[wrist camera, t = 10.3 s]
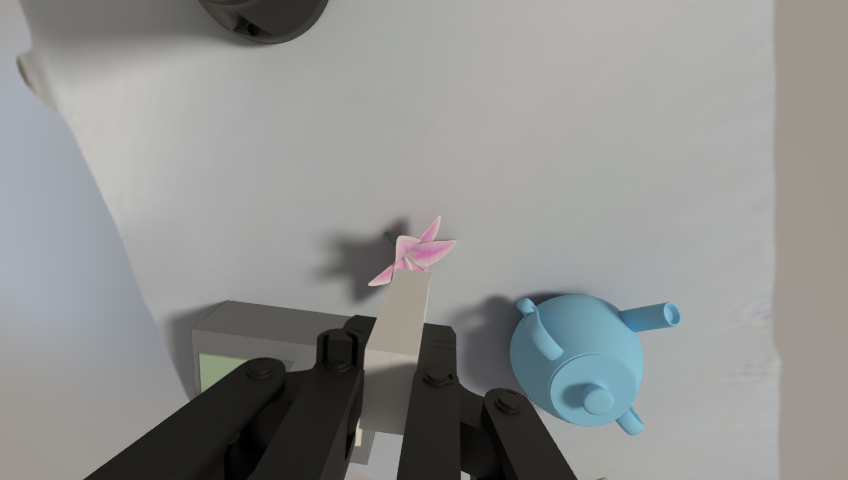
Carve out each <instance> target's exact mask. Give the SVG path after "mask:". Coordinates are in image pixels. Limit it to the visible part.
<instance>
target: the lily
mask: <svg viewBox="0 0 848 480" xmlns="http://www.w3.org/2000/svg"><path fill="white" fill-rule="evenodd" d="M440 221H441V216H439V217H438V218H437V219H436V220H435V221H434V222H433V223H432V225H431V226H430V227H429V228H428V229H427V230H426V231H425V233H424V234H423V235H422V236H421V237H420V238H419V239H416V238H413V237H409V236H399V237H398V239H397V243H395V242H394V240H393V239H392V238H391V237H390V235H389V234H388V233H387V232H385V234H386V235H387V237H388V238H389V239H390V240H391V242H392V243H393V244H394V245H395V246H396V260H395V262H394V263H393V264H392V265H391V266H389V267H388V268H387V269H386V270H385V271H383V272H382V273H381V274H380V275H378V276H377V277H376V278H375V279H373V280H372V281H371V282H370V283H369V284H368V285H369V286H378V285H383V284H386V283H389V282H391V281H392V279H393V276H394V273H395V271H396V268H400V269H408V270H416V271H424V272H428V265H431V264H433V263H435V262H437V261H438V260H440V259H441V258H442V257H444V256H445V255H446V254H447V253H448V252H449V251H450V250H451V249H452V248H453V247H454V245H455V244H456V242H457V240H449V241H433V240H434V238H435V236H436V234H437V231H438V228H439V225H440Z"/></svg>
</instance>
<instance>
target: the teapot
mask: <svg viewBox="0 0 848 480" xmlns="http://www.w3.org/2000/svg"><path fill="white" fill-rule="evenodd" d="M516 306H517V308H518V309H519V310H520V311H521V312H522V314H523V315H524V317H523V319H522V320H521V321H520V322H519V324H518V326H517V327H516V329H515V331H514V334H513V336H512V339H511V343H510V350H509V352H510V362H511V366H512V369H513V372H514V375H515V377H516V379H517V381H518V383H519V384H520V386H521V387H522V389H523V390H524V391H525V393H526V394H527V395H528V396H529V397H530V399H531V400H532V401H533V402H535V403H536V404H537V405H538V406H539V407H540V408H542V409H543V410H545V411H546V412H548V413H550V414H551V415H553V416H555V417H557V418H559V419H561V420H564V421H566V422H568V423H572V424H575V425H580V426H600V425H604V424H607V423H610V422H612V421H614V420H616V422H617V423H618V424H619V425H620V426H621V428H622V429H623V430H624V431H625V432H626V433H627V434H629V435H636V434H638V433H640V432H641V431H642V430H643V429H644V424H643V422H642V421H641V419H640V418H639V416H638V414H637V413H636V412H635V410H634V409H633V407H632V406H631V405H632V404H633V402H634V400H635V399H636V397H637V394H638V391H639V388H640V385H641V381H642V377H643V369H644V361H643V352H642V348H641V344H640V341H639V338H638V336H637V334H636V332H638V331H645V330H652V329H660V328H667V327H674V326H678V325H679V324H680V322H681V313H680V310H679V308H678V307H677V306H676V305H675V304H674V303H672V302H668V303H662V304H657V305H651V306H646V307H641V308H635V309H630V310H625V311H620V310H619V309H617V308H616V307H615V306H613V305H612V304H610V303H609V302H606V301H604V300H602V299H599V298H596V297H593V296H588V295H579V294H572V295H563V296H558V297H555V298H551V299H549V300H547V301H544V302H543V303H541V304H539V305H537V306H535V305H534V303H533V302H532V301H531V300H529V299H528V298H523V299H520V300H519V301H518V303H517V305H516Z"/></svg>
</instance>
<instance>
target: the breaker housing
mask: <svg viewBox="0 0 848 480" xmlns="http://www.w3.org/2000/svg"><path fill="white" fill-rule="evenodd" d="M350 318H352V317H349V316H341V315H334V314H326V313H319V312H311V311H304V310H296V309H289V308H281V307H274V306H266V305H259V304H251V303H244V302H236V301H229V300H227V301H226V302H225V303H224V304H222V305H221V306H220V307H219V308H217V309H216V310H215V311H213V312H212V313H211V314H210V315H208V316H207V317H206V318H205V319H203V320H202V321H201V322H200V323H198V324H197V325H196V326H195V327H193V328H192V329H191V335H192V351H193V367H194V383H195V398H196V397H197V396H198V395H200V394H201V393H202V392H204V391H205V390H206V389H208V388H209V387H211V386H212V385H213V384H215V383H216V382H217V381H219V380H220V379H222V378H223V377H224V376H226V375H227V374H228V373H230V372H231V371H232V370H234V369H235V368H237V367H238V366H239V365H241V364H242V363H244V362H246V361H248V360H251V359H255V358H260V357H269V358H276V359H278V360H280V361H282V362H283V363H284V365H285V366H286V372H292V371H303V370H308V369H312V368H313V366H314V365H315V363H316V348H317V336H318V335H319V334H321V333H322V332H324V331H327V330H330V329H336V328H343V326H344V325H345V323H346V321H347V320H348V319H350ZM359 421H360V418H359ZM359 421H358V424H357V428H356V440H355V445H354V448H353V452H352V455H351V458H350V461H349V462H351V463H358V464H365V465H367V463H368V460H369V456H370V452H371V448H372V444H373V440H374V436H375V432H376V431H371V430H364V429H359Z"/></svg>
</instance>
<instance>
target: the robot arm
mask: <svg viewBox="0 0 848 480" xmlns="http://www.w3.org/2000/svg"><path fill="white" fill-rule="evenodd" d="M198 1H199V2H200V3H201V5H202V6H203V7H204V9H205V10H206V11H207V12H208V13H209V14H210V15H211V16H212V17H213V18H214V19H215V20H216V21H217V22H218V23H219V24H221V25H222V26H223V27H225V28H226V29H228V30H229V31H231V32H233V33H235V34H237V35H239V36H242V37H244V38H247V39H249V40H252V41H255V42H260V43H269V44H273V43H282V42H286V41H289V40H292V39H294V38H296V37H298V36H300V35H302V34H303V33H305V32H306V31H307V30H309V29H310V28H311V27H312V26H313V25H314V24H315V23H316V21H317V20H318V19H319V17H320V16H321V14H322V13H323V11H324V9H325V7H326V5H327V3H328V0H198ZM430 275H431V272H424V271H416V270H408V269H400V268H396V271H395V273H394V276H393V279H392V281H391V284H390V286H389V289H388V291H387V294H386V297H385V299H384V302H383V304H382V307H381V309H380V312H379V314H378V317H377V318H375V317H368V316H360V315H355V316H353V317H352V318H350V319H348V320H347V321H346V323H345V325H344V326H343V328H336V329H330V330H327V331H324V332H322V333H321V334H319V335H318V336H317V348H316V363H315V365H314V366H313V368H312V369H308V370H303V371H292V372H286V366H285V365H284V363H283V362H282V361H280V360H278V359H276V358H269V357H260V358H255V359H251V360H248V361H246V362H244V363H242V364H241V365H239V366H238V367H237V368H235V369H234V370H232V371H231V372H230V373H228V374H227V375H226V376H224V377H223V378H222V379H220V380H219V381H217V382H216V383H215V384H213V385H212V386H211V387H209V388H208V389H206V390H205V391H204V392H202V393H201V394H200V395H198V396H197V397H196V398H194V399H193V400H191V401H190V402H189V403H187V404H186V405H185V406H183V407H182V408H181V409H179V410H178V411H176V412H175V413H174V414H172V415H171V416H170V417H168V418H167V419H165V420H164V421H163V422H161V423H160V424H159V425H157V426H156V427H155V428H153V429H152V430H150V431H149V432H148V433H146V434H145V435H144V436H142V437H141V438H140V439H138V440H137V441H135V442H134V443H133V444H131V445H130V446H129V447H127V448H126V449H124V450H123V451H122V452H121V453H119V454H118V455H116V456H115V457H114V458H112V459H111V460H109V461H108V462H107V463H105V464H104V465H103V466H101V467H100V468H98V469H97V470H96V471H94V472H93V473H92V474H90V475H89V476H88V477H86V478H85V479H84V480H344V478H345V474H346V471H347V468H348V465H349V461H350V458H351V455H352V452H353V448H354V445H355V440H356V428H357V424H358V421H359V418H360V421H359V429H364V430H371V431H378V432H385V433H392V434H399V435H404V437H403V443H402V449H401V455H400V461H399V467H398V473H397V479H396V480H461V471H463V472H465V473H468V474H470V480H577V478H576V476H575V475H574V473H573V471H572V470H571V468H570V466H569V465H568V463H567V462H566V460H565V458H564V457H563V455H562V453H561V452H560V450H559V448H558V447H557V445H556V443H555V442H554V440H553V438H552V437H551V435H550V434H549V432H548V430H547V429H546V427H545V425H544V424H543V422H542V420H541V419H540V417H539V415H538V414H537V412H536V411H535V409H534V407H533V406H532V404H531V403H530V402H529V400H528V399H527V398H526V397H525V396H523V395H521V394H520V393H518V392H516V391H513V390H510V389H503V388H497V389H492V390H490V391H489V392H487V393H486V395H485V397H482V396H480V395H477V394H475V393H472V392H470V391H469V390H467V389H466V388H464V387H463V386H462V385H461V384H460V383H459V379H458V376H457V368H456V333H455V332H454V331H453V329H452V328H451V327H450V326H443V325H436V324H428V323H425V316H426V308H427V299H428V291H429V283H430Z"/></svg>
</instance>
